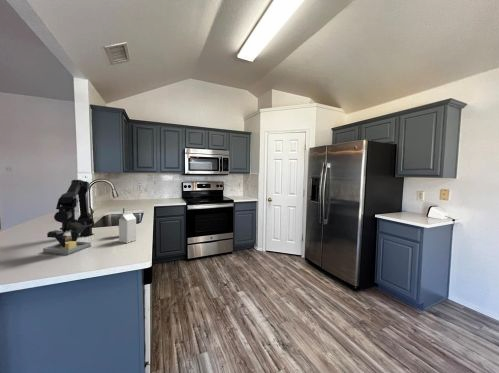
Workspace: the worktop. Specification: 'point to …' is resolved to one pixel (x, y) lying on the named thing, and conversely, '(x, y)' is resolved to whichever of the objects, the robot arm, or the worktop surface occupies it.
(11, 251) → the worktop surface
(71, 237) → the walnut block
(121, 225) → the milk carton
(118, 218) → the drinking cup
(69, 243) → the mustard block
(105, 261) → the worktop surface
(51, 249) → the tray
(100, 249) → the worktop surface
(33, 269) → the worktop surface
